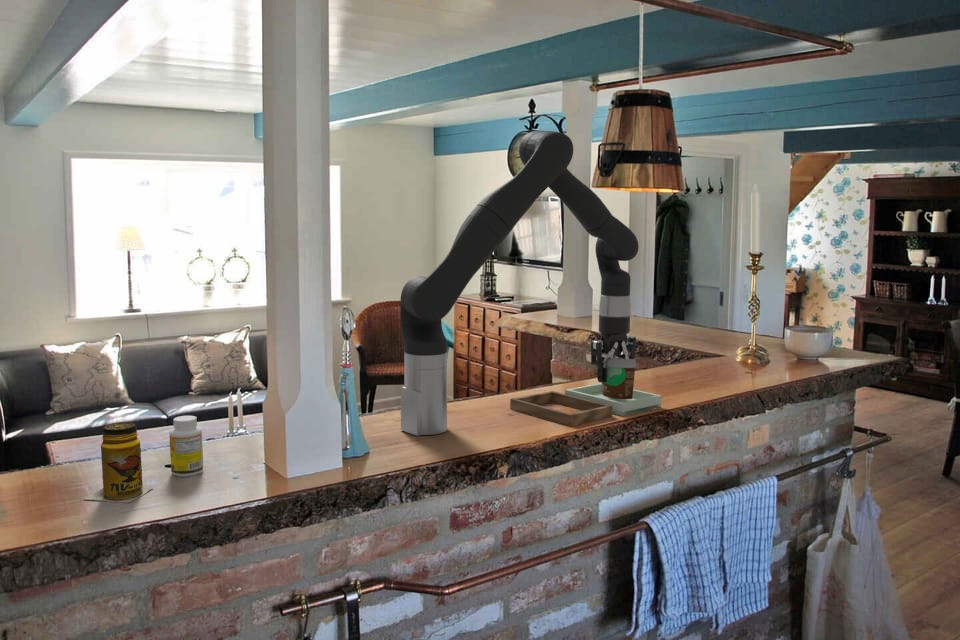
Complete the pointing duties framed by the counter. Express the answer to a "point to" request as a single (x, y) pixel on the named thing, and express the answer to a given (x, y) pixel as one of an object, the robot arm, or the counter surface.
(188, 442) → the supplement bottle
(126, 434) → the condiment
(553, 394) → the walnut frame
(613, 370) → the food container
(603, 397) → the sage tray
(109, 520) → the counter surface
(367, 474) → the counter surface
